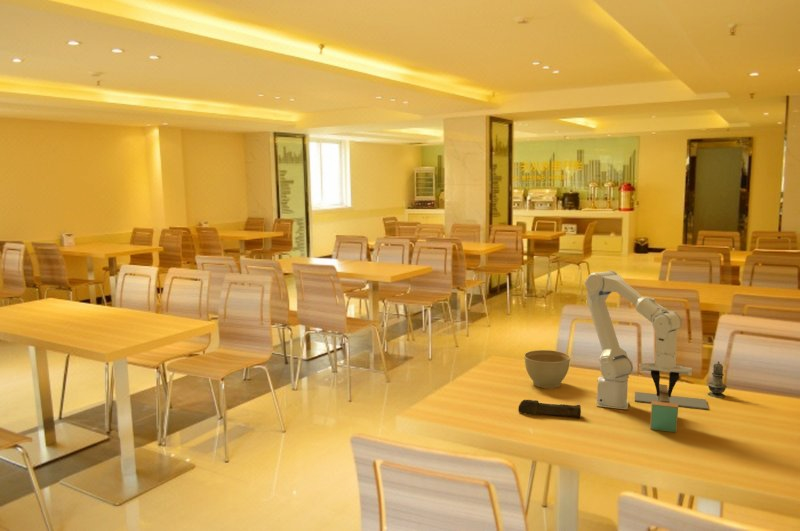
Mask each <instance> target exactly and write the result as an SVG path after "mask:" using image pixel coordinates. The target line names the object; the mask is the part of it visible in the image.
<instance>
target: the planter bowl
mask: <svg viewBox="0 0 800 531" xmlns="http://www.w3.org/2000/svg"><path fill="white" fill-rule="evenodd" d="M523 356H524V358H523V359H524V365H525V370H526V372H527V375H528V376H529V378H530V380H532V384H533V385H534V386H535V387H537V388H540V387H541V389H556V388H559V387H560V386H561V383H562V382H563V380H564V379H565V378H566V376H567V374H568V372H569V368H570V361H571V356H570V355H569V354H567V353H565V352H562V351H558V350H552V349H551V350H550V349H538V350H530V351H527V352H525V353H524V355H523Z"/></svg>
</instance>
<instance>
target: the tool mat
mask: <svg viewBox="0 0 800 531" xmlns="http://www.w3.org/2000/svg"><path fill="white" fill-rule="evenodd" d="M652 401H656V402H658V396H657V393H650V392H649V393H648V392H640V391H635V392H634V402H635V403H636V402H637V403H643V404H652ZM669 401H670V402H669V403H674V404H678V408H680V407H681V408H689V409H697V410H707V411H709V406H708V402H707V399H706V398H695V397H687V396H680V395H679V396H677V395H671V397H669Z"/></svg>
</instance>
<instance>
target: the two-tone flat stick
mask: <svg viewBox="0 0 800 531" xmlns="http://www.w3.org/2000/svg"><path fill="white" fill-rule="evenodd" d="M668 388H669V386H668V385H667V384H660V383H659V392H660V393H659V396H658V402H665V403H669V402H670V401H669V394H668Z"/></svg>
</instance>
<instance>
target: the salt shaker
mask: <svg viewBox="0 0 800 531" xmlns="http://www.w3.org/2000/svg"><path fill="white" fill-rule="evenodd" d="M712 368H713V369H712V370H713V371H712V373H711V375H712V379H711V381H710V382H708V383H707V386H708V389H709V391H710V392H708V393H707V395H708V396H710V397H712V398H717V399H724V398H725V397H726V395H725V394H724V392H725V391H726V388H727V387H728V386H727V385H726V384H724V382H723V379H724V374H723V372H724V366H723V365H722V363H720V361H717V363H714V364H713V367H712Z"/></svg>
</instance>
